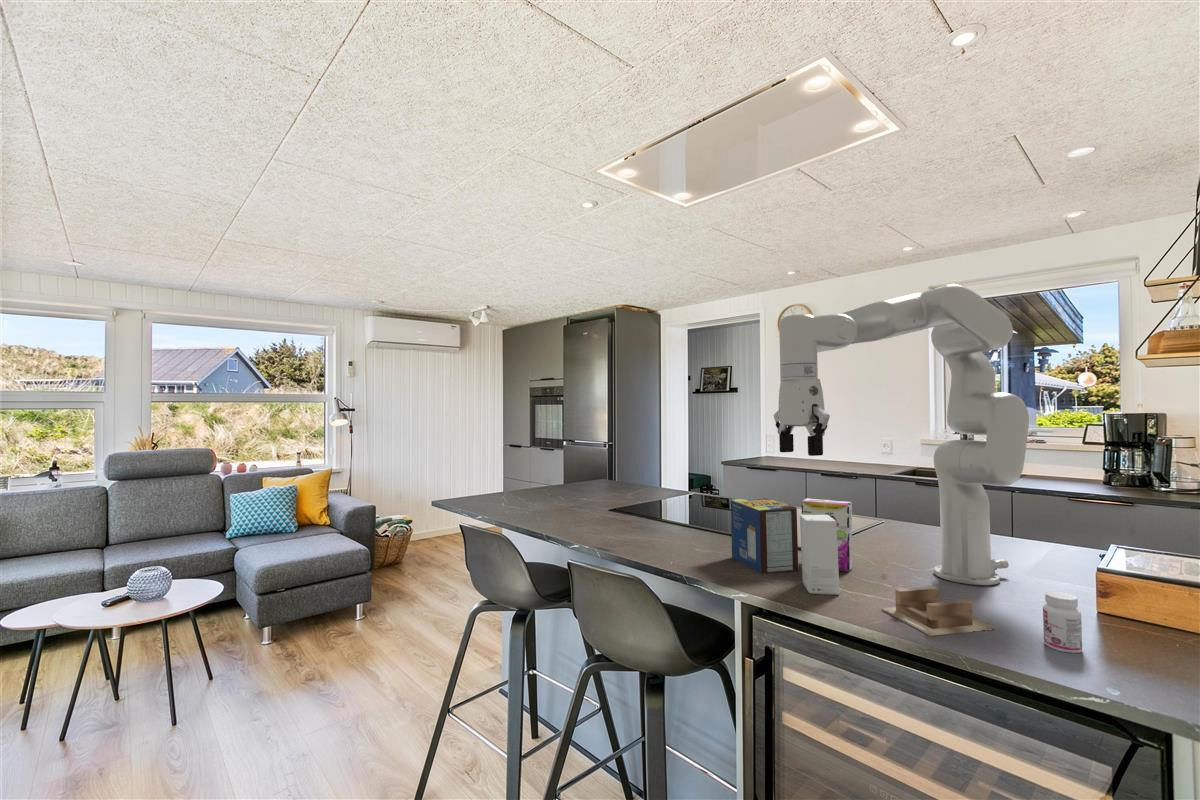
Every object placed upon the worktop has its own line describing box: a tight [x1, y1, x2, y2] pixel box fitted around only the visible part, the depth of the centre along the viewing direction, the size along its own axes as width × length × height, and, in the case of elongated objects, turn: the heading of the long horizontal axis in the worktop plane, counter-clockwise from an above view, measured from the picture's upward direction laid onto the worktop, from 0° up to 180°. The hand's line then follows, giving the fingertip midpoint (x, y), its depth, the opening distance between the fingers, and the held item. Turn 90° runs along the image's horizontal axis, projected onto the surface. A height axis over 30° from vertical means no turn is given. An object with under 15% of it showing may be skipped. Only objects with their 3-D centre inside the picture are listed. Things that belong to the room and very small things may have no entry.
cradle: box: [881, 586, 996, 637], centre depth 99 cm, size 13×12×4 cm
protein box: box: [730, 497, 799, 575], centre depth 136 cm, size 10×15×16 cm
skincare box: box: [799, 514, 840, 596], centre depth 117 cm, size 8×7×16 cm
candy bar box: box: [801, 497, 854, 573], centre depth 133 cm, size 11×5×16 cm, turn 58°
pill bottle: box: [1042, 590, 1083, 654], centre depth 87 cm, size 5×5×8 cm
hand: (800, 453), depth 114 cm, fingers open, 9 cm apart
